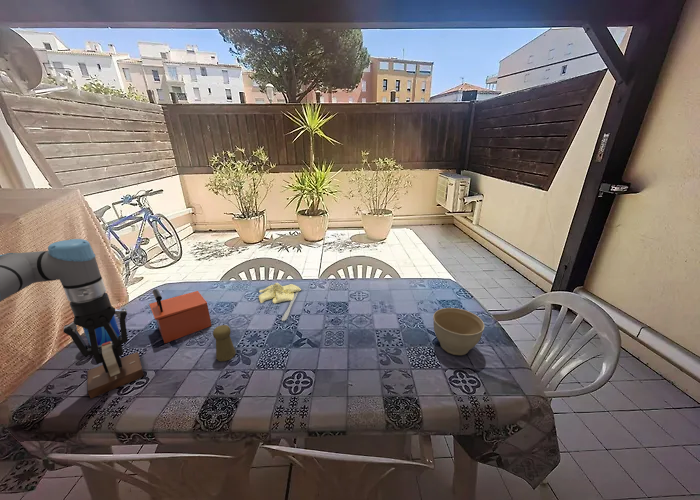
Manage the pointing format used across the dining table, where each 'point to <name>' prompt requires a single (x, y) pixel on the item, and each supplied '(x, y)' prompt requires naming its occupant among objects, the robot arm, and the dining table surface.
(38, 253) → the robot arm
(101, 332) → the beer can
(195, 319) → the orange box
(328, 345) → the dining table surface
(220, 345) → the cork
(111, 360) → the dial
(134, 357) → the brown flat block
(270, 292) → the cloth
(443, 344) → the planter bowl
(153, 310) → the box lid
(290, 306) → the butter knife
